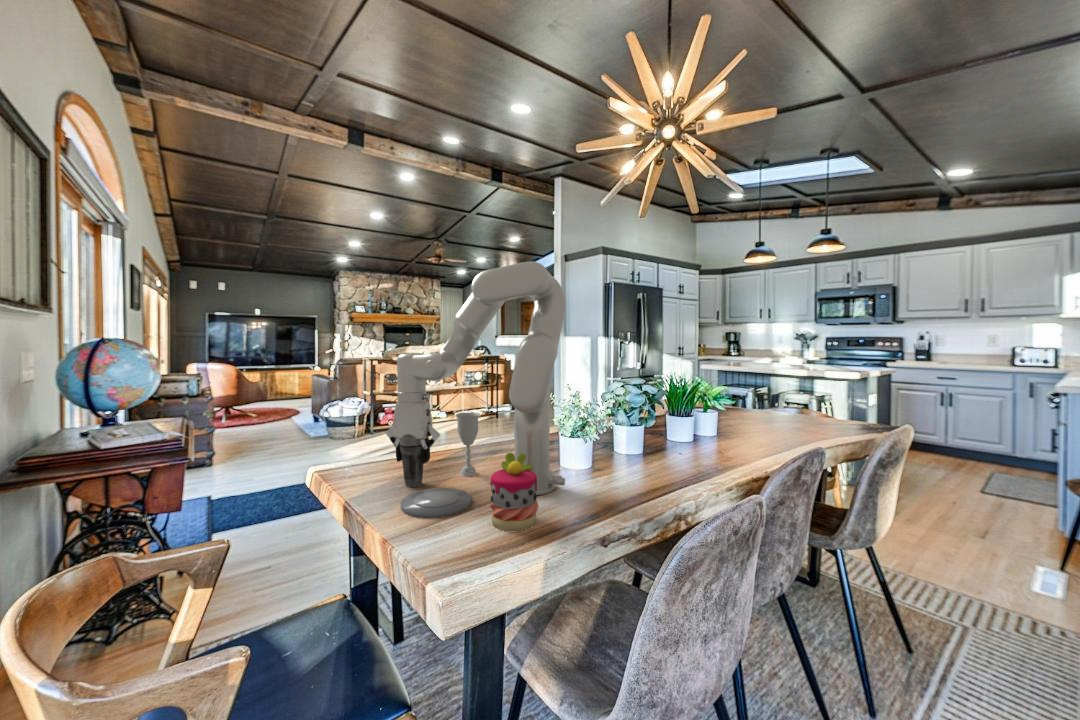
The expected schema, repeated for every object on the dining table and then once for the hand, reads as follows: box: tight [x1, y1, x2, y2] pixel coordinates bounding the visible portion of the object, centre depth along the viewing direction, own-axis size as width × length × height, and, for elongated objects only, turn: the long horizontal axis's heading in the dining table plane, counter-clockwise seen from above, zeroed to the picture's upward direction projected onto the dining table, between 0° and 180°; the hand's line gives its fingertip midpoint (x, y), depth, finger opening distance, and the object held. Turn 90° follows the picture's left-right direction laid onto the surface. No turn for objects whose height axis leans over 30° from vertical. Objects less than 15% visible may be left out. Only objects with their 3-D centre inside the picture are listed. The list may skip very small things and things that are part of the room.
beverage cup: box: [399, 434, 425, 488], centre depth 129 cm, size 7×7×20 cm
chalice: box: [455, 412, 481, 477], centre depth 139 cm, size 7×7×18 cm
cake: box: [489, 452, 540, 532], centre depth 103 cm, size 10×11×15 cm
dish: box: [400, 487, 472, 519], centre depth 115 cm, size 17×17×2 cm
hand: (413, 460), depth 129 cm, fingers closed on beverage cup, 7 cm apart
